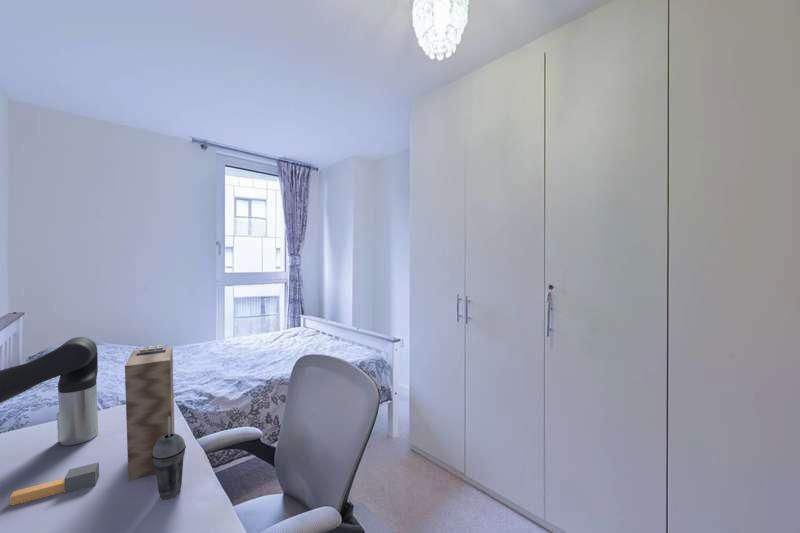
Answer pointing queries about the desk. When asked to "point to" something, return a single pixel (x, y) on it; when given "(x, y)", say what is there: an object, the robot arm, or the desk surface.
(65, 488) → the mallet
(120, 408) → the desk surface
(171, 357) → the brown wooden tall block
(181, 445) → the beverage cup
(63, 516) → the desk surface
